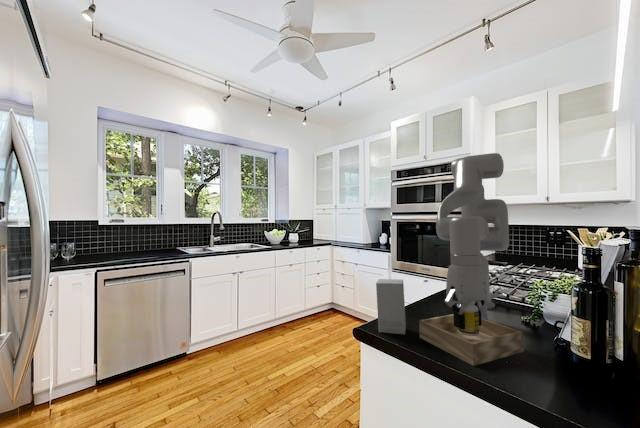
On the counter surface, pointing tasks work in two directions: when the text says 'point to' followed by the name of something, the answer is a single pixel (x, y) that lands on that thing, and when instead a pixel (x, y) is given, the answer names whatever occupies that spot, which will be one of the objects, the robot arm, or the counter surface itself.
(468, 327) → the supplement bottle
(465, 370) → the counter surface
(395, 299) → the skincare box
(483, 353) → the crate
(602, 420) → the counter surface
